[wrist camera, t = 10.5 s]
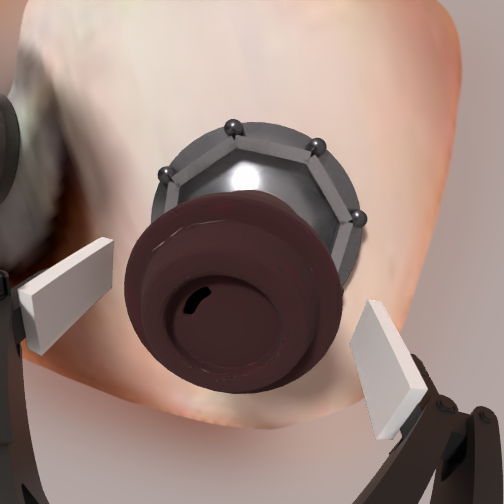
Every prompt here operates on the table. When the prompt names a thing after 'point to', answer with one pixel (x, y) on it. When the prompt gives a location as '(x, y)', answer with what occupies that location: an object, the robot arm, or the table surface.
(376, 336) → the robot arm
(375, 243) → the table surface
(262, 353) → the coffee cup
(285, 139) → the grey flat octagonal tray
